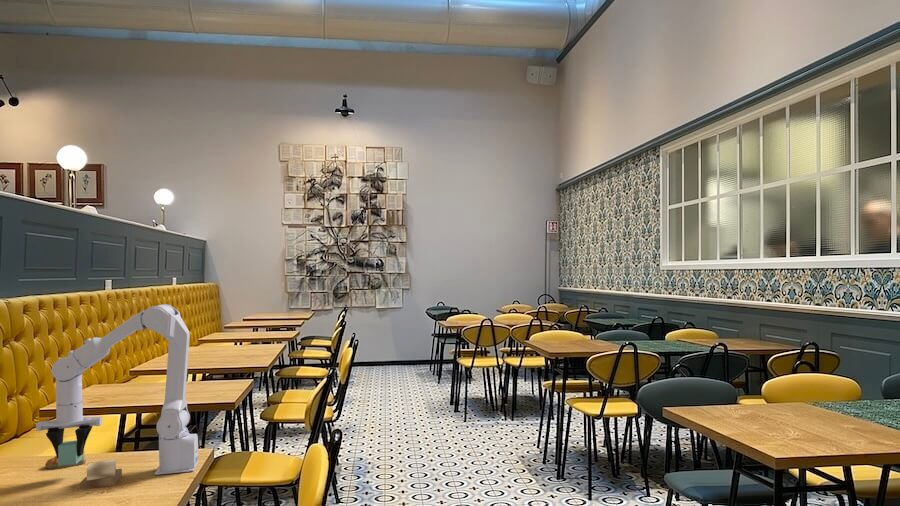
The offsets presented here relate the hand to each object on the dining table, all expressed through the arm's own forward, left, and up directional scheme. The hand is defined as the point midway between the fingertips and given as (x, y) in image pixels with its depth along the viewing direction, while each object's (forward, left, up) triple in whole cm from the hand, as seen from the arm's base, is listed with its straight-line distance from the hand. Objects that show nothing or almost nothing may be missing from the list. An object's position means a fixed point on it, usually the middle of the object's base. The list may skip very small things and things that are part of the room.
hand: (70, 455), depth 149 cm
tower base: (-9, +6, -6) cm, 13 cm away
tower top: (-9, +6, -4) cm, 11 cm away
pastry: (+5, -13, -6) cm, 15 cm away
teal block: (0, 0, -2) cm, 2 cm away
